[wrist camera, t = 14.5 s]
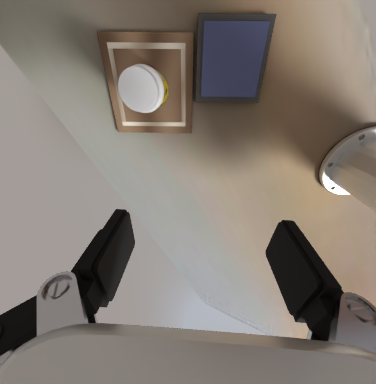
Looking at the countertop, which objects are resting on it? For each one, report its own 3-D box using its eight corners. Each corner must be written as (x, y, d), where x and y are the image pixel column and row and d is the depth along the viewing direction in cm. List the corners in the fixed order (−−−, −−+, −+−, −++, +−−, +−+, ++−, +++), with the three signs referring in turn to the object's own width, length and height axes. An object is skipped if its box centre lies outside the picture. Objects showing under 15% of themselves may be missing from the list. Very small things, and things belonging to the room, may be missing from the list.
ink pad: (271, 17, 20) (277, 12, 19) (255, 101, 25) (258, 102, 24) (197, 17, 20) (198, 12, 19) (195, 101, 25) (195, 101, 24)
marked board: (193, 33, 21) (193, 32, 20) (191, 132, 27) (191, 133, 27) (99, 32, 21) (96, 31, 20) (119, 131, 27) (117, 132, 27)
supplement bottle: (157, 114, 25) (144, 126, 18) (130, 92, 24) (105, 94, 17) (176, 86, 23) (170, 86, 16) (147, 59, 22) (127, 46, 15)
